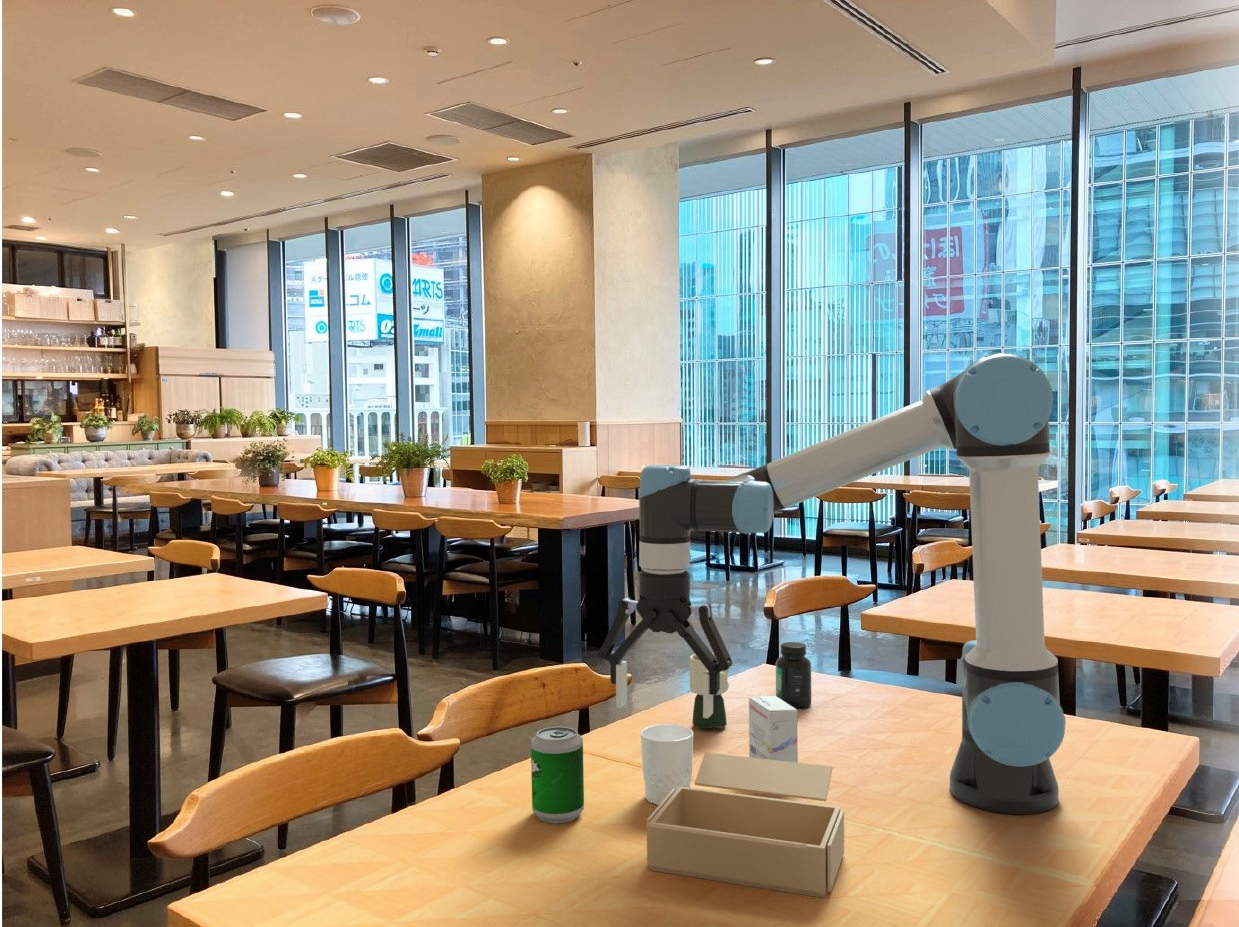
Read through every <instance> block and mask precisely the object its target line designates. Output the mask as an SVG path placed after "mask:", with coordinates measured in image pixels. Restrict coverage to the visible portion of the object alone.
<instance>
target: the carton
mask: <svg viewBox="0 0 1239 927" xmlns="http://www.w3.org/2000/svg"><path fill="white" fill-rule="evenodd" d="M647 823H656V824H665V825H672V826H679V827H686V828H693V829H700V830H708V831H715V832H722V833H729V834H736V835H743V836H750V837H757V838H764V839H771V840H778V841H785V842H792V843H799V844H806V848H796V847H789V846H782V845H775V844H768V843H761V842H754V841H747V840H740V839H733V838H726V837H719V836H712V835H705V834H698V833H691V832H684V831H677V830H670V829H663V828H656V827H649V826H647V825H646V862H647V864H648V869H649V870H648V871H652V872H659V873H666V874H671V875H678V876H684V877H689V878H697V877H698V878H697V879H702V878H704V879H703V880H709V881H716V882H723V883H728V884H733V885H735V884H736V885H741V886H747V887H753V888H759V889H766V890H772V891H776V892H777V891H778V892H784V893H791V894H796V895H801V896H803V895H804V896H809V897H815V898H823V899H826V895H827V892H830V893H831V892H832V890H833V887H834V884H835V880H836V878H837V875H838V872H839V869H840V866H841V863H842V861H843V857H844V854H845V810H844V809H841V806H837V805H836V806H835V805H829V804H820V803H813V802H806V801H799V800H798V801H797V800H789V799H781V798H773V797H772V798H771V797H764V796H759V795H758V796H757V795H749V794H740V793H733V792H727V791H717V790H711V789H710V790H708V789H704V788H703V789H701V788H693V787H690V788H687V787H678V789H677V790H676V789H672V790H671V791H670V793H669V794H668V795H667V796H666V797H665V799H664V800H663V801H662V802H661V803H660V805H657V807H655V809H654V811H652V813H651V814H650V815H649V817H647V819H646V824H647Z"/></svg>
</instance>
